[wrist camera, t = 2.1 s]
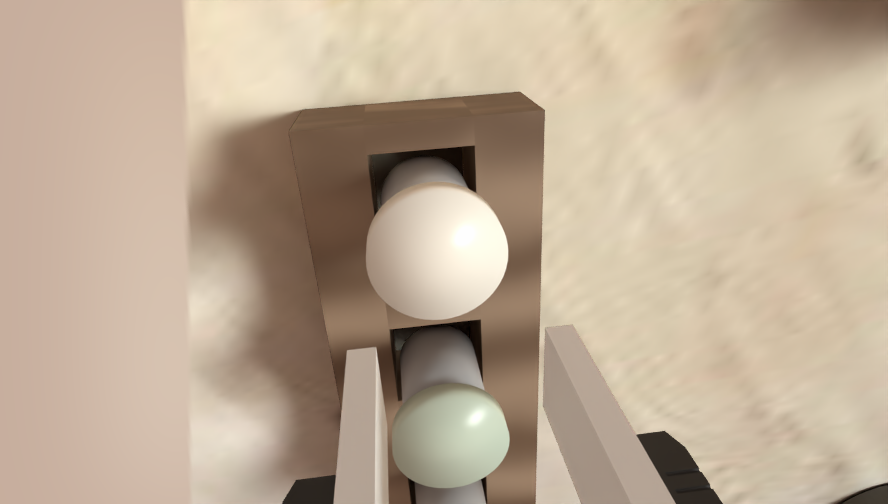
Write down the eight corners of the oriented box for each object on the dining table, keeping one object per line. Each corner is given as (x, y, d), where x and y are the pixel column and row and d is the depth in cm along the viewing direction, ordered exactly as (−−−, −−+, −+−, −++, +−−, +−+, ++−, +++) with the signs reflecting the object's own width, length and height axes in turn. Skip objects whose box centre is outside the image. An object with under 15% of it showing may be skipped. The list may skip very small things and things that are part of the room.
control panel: (518, 455, 42) (535, 510, 38) (366, 475, 42) (364, 534, 37) (520, 91, 30) (544, 110, 26) (302, 109, 29) (288, 131, 25)
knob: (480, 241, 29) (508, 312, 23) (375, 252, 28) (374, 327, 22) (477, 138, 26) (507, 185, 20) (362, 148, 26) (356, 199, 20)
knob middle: (485, 387, 33) (509, 480, 27) (394, 398, 33) (398, 495, 27) (482, 311, 31) (509, 393, 24) (384, 321, 30) (386, 408, 24)
